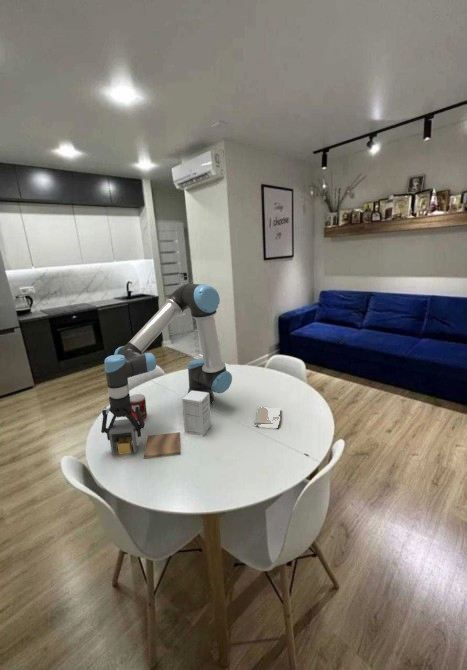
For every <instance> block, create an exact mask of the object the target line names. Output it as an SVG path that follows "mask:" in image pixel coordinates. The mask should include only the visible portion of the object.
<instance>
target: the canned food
mask: <svg viewBox="0 0 467 670" xmlns="http://www.w3.org/2000/svg"><path fill="white" fill-rule="evenodd" d="M130 402H131V404H132V406H136V405H137V404H138V405H139V410H140V413H141V415H142V418H143V420H144V421H145V420H146V419H147V416H148V414H147V412H148V411H147V401H146V396H145V395H144V394H142V393H138V394H137V393H135V394H132V395H130ZM131 413H132V415H133V416H134V418H136V419H137V416H136V413H135V412H134V410H133V409H131ZM137 422H138V423H139V421H138V419H137Z"/></svg>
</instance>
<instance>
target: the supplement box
mask: <svg viewBox="0 0 467 670" xmlns="http://www.w3.org/2000/svg"><path fill="white" fill-rule="evenodd" d="M187 393H188V392H187ZM181 400H182V415H183V416H182V417H183V427H184V433H185V434H191V435H197V436H201V437H203V436H204V435H205V434H206V433H207V432H208V429H210V427H211V426H212V423H211V422H212V421H211V417H212V416H211V404H210V395H209V393H207V392H200V391H192V390H191V391H190V392H189V393H188V394H186V395H185V396H184V397H182V399H181Z"/></svg>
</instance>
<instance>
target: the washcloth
mask: <svg viewBox="0 0 467 670" xmlns="http://www.w3.org/2000/svg"><path fill="white" fill-rule="evenodd" d="M258 407H259V406H258ZM264 407H265V406H262V408H261V407H259V409H258V408H257V411H258V412H256V416H255V420H254V425H255V424H257V425H261V424H273V423H271V421H270V420H269V417H268V410H267V409H266V408H264ZM267 419H268V420H267ZM275 419H277V420H278V419H279V417H273V420H275ZM273 420H272V421H273ZM275 421H276V420H275Z"/></svg>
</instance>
